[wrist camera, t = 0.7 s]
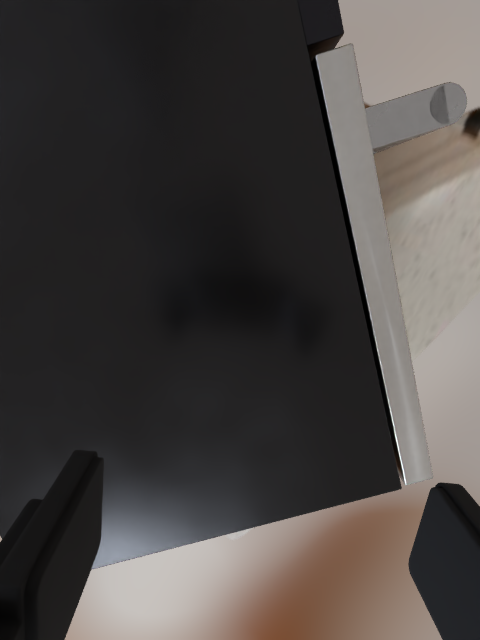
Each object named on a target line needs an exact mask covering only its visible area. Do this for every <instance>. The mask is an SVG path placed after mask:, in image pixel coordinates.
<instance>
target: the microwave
mask: <svg viewBox="0 0 480 640" xmlns="http://www.w3.org/2000/svg"><path fill="white" fill-rule="evenodd" d="M343 34H344V30H343V25H342V19H341V14H340V9H339V3H338V0H0V536H1V538H2V539H3V538H4V536H5V535H6V533H7V532H8V530H9V529H10V527H11V526H12V524H13V523H14V522H15V520H16V519H17V517H18V516H19V514H20V513H21V511H22V510H23V508H24V507H25V505H26V504H27V503H28V502H29V501H30V500H31V499H44V497H45V496H46V494H47V492H48V491H49V489H50V488H51V486H52V485H53V483H54V481H55V480H56V478H57V477H58V475H59V474H60V472H61V470H62V469H63V467H64V466H65V464H66V463H67V461H68V459H69V458H70V456H71V455H72V453H73V452H74V451H75V450H86V451H96V452H97V455H98V457H101V458H103V459H104V472H103V501H102V530H101V542H100V546H99V550H98V553H97V555H96V558H95V561H94V563H93V566H92V568H91V569H95V568H99V567H103V566H107V565H110V564H114V563H118V562H122V561H126V560H130V559H134V558H137V557H141V556H145V555H149V554H153V553H157V552H161V551H164V550H168V549H172V548H176V547H180V546H183V545H187V544H191V543H195V542H199V541H203V540H207V539H211V538H215V537H218V536H222V535H226V534H230V533H234V532H238V531H241V530H245V529H249V528H253V527H257V526H261V525H264V524H268V523H272V522H276V521H280V520H284V519H288V518H291V517H295V516H299V515H303V514H307V513H311V512H315V511H318V510H322V509H326V508H330V507H333V506H337V505H341V504H345V503H349V502H353V501H356V500H361V499H365V498H368V497H372V496H376V495H380V494H384V493H387V492H392V491H396V490H399V489H401V488H402V487H401V483H400V478H399V473H398V469H397V464H396V459H395V455H394V450H393V445H392V441H391V436H390V431H389V427H388V422H387V417H386V413H385V408H384V403H383V399H382V394H381V389H380V385H379V380H378V375H377V371H376V366H375V361H374V356H373V352H372V347H371V342H370V338H369V333H368V328H367V324H366V319H365V314H364V310H363V305H362V300H361V296H360V291H359V286H358V282H357V277H356V272H355V268H354V263H353V258H352V254H351V249H350V244H349V240H348V235H347V230H346V225H345V221H344V216H343V211H342V207H341V202H340V197H339V193H338V188H337V183H336V179H335V174H334V169H333V165H332V160H331V155H330V151H329V146H328V141H327V137H326V132H325V127H324V123H323V118H322V113H321V109H320V104H319V99H318V94H317V90H316V85H315V80H314V76H313V71H312V66H311V62H312V60H313V59H314V57H315V55H317V54H320V53H323V52H326V51H329V50H332V49H334V48H335V46H336V45H337V43H338V42H339V40H340V38H341V37H342V36H343Z"/></svg>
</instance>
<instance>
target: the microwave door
mask: <svg viewBox="0 0 480 640" xmlns="http://www.w3.org/2000/svg"><path fill="white" fill-rule="evenodd" d="M311 66H312V71H313V76H314V80H315V85H316V90H317V94H318V99H319V104H320V109H321V113H322V118H323V123H324V127H325V132H326V137H327V141H328V146H329V151H330V155H331V160H332V165H333V169H334V174H335V179H336V183H337V188H338V193H339V197H340V202H341V207H342V211H343V216H344V221H345V225H346V230H347V235H348V240H349V244H350V249H351V254H352V258H353V263H354V268H355V272H356V277H357V282H358V286H359V291H360V296H361V300H362V305H363V310H364V314H365V319H366V324H367V328H368V333H369V338H370V342H371V347H372V352H373V356H374V361H375V366H376V371H377V375H378V380H379V385H380V389H381V394H382V399H383V403H384V408H385V413H386V417H387V422H388V427H389V431H390V436H391V441H392V445H393V450H394V455H395V459H396V464H397V469H398V473H399V476H400V478H401V479H402V481H403V482H404V484H405V485H409V484H413V483H417V482H421V481H424V480H428V479H432V478H433V474H432V469H431V463H430V457H429V452H428V446H427V442H426V436H425V430H424V425H423V420H422V414H421V409H420V404H419V398H418V393H417V388H416V382H415V377H414V372H413V366H412V360H411V355H410V349H409V344H408V339H407V333H406V328H405V322H404V317H403V312H402V306H401V301H400V295H399V290H398V285H397V279H396V274H395V269H394V263H393V258H392V252H391V247H390V242H389V236H388V231H387V225H386V220H385V215H384V209H383V204H382V198H381V193H380V188H379V182H378V177H377V171H376V166H375V161H374V155H373V154H375V153H378V152H381V151H383V150H386V149H389V148H391V147H394V146H396V145H399V144H402V143H404V142H407V141H409V140H412V139H415V138H417V137H420V136H423V135H425V134H428V133H430V132H433V131H436V130H438V129H441V128H444V127H446V126H449V125H451V124H453V123H455V122H457V121H458V120H459V119H460V118H461V116H462V115H463V113H464V111H465V109H466V104H467V98H466V94H465V91H464V90H463V88H462V87H461V86H459V85H458V84H455V83H451V82H449V83H444V84H440V85H437V86H434V87H431V88H428V89H424V90H421V91H418V92H415V93H412V94H408V95H405V96H402V97H399V98H396V99H393V100H389V101H386V102H383V103H380V104H377V105H374V106H370V107H367V108H365V107H364V101H363V96H362V91H361V85H360V80H359V74H358V69H357V64H356V59H355V53H354V48H353V44H348V45H344V46H342V47H339V48H335V49H332V50H329V51H326V52H323V53H320V54H317V55H315V57H314V59H313V60H312V62H311Z"/></svg>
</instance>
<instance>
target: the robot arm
mask: <svg viewBox="0 0 480 640" xmlns="http://www.w3.org/2000/svg"><path fill="white" fill-rule="evenodd" d="M103 472H104V459H103V458H101V457H98V455H97V452H96V451H86V450H75V451H74V452H73V453H72V455H71V456H70V458H69V459H68V461H67V463H66V464H65V466H64V467H63V469H62V470H61V472H60V474H59V475H58V477H57V478H56V480H55V481H54V483H53V485H52V486H51V488H50V489H49V491H48V492H47V494H46V496H45V497H44V499H31V500H30V501H29V502H28V503H27V504H26V505H25V507H24V508H23V510H22V511H21V513H20V514H19V516H18V517H17V519H16V520H15V522H14V523H13V524H12V526H11V527H10V529H9V530H8V532H7V533H6V535H5V536H4V538H3V539H2V541H1V542H0V640H64V639H65V637H66V634H67V631H68V629H69V626H70V624H71V621H72V618H73V616H74V613H75V610H76V608H77V605H78V603H79V600H80V597H81V595H82V592H83V589H84V587H85V584H86V581H87V578H88V576H89V574H90V571H91V568H92V566H93V563H94V561H95V558H96V555H97V553H98V550H99V546H100V542H101V530H102V501H103ZM409 571H410V574H411V576H412V578H413V580H414V582H415V584H416V586H417V589H418V591H419V593H420V594H421V597H422V599H423V601H424V602H425V605H426V607H427V609H428V611H429V613H430V615H431V617H432V619H433V621H434V623H435V625H436V627H437V629H438V631H439V633H440V635H441V637H442V639H443V640H480V506H479V505H478V504H477V503H476V502H475V500H474V499H473V498H472V497H471V496H470V494H469V493H468V492H467V491H466V490H465V488H463V486H461V485H459V484H451V483H438V484H437V485H436V486H435V487H433V488H431V490H430V492H429V496H428V499H427V502H426V505H425V509H424V512H423V516H422V519H421V522H420V525H419V528H418V532H417V535H416V538H415V542H414V545H413V548H412V551H411V555H410V558H409Z"/></svg>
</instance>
